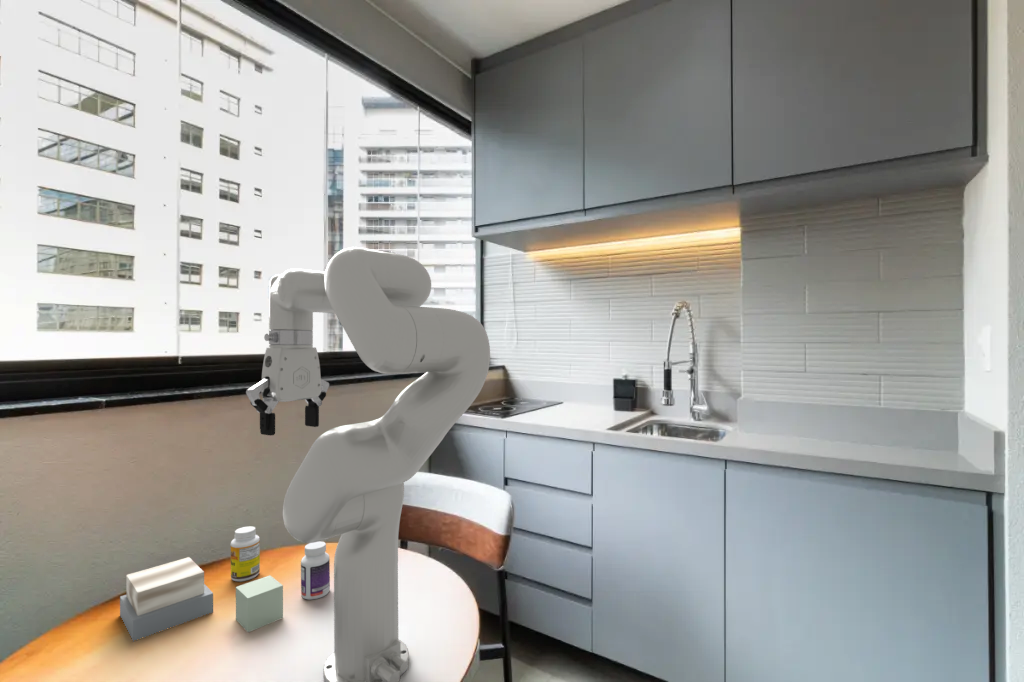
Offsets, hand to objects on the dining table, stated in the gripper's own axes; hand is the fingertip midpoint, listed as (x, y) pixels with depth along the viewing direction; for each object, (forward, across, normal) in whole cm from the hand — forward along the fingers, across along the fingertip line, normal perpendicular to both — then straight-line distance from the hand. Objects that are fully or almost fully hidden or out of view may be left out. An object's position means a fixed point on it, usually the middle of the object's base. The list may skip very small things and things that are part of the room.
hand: (290, 430), depth 90 cm
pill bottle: (+34, +6, 0) cm, 35 cm away
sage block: (+34, -4, +2) cm, 35 cm away
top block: (+31, -11, +20) cm, 39 cm away
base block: (+35, -11, +20) cm, 42 cm away
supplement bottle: (+35, +5, +20) cm, 41 cm away
